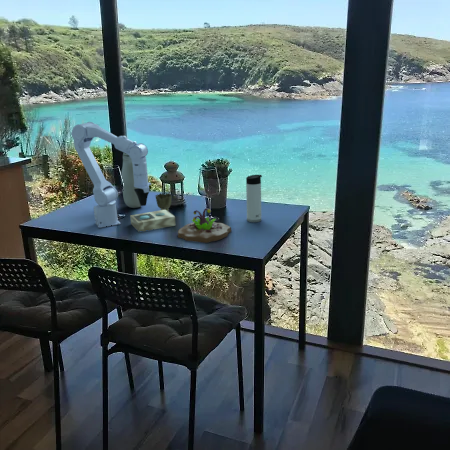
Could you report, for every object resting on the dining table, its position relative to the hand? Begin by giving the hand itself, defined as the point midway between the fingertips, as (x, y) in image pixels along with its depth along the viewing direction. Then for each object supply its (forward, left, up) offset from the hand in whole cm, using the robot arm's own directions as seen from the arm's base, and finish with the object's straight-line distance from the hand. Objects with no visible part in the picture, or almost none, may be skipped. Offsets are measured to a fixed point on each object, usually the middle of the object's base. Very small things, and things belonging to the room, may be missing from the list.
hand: (143, 205), depth 204 cm
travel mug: (+44, -18, -10) cm, 48 cm away
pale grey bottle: (+5, +30, -10) cm, 32 cm away
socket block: (+4, 0, -9) cm, 10 cm away
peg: (0, 0, -9) cm, 9 cm away
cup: (+15, +16, -10) cm, 24 cm away
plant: (+18, -22, -10) cm, 30 cm away
